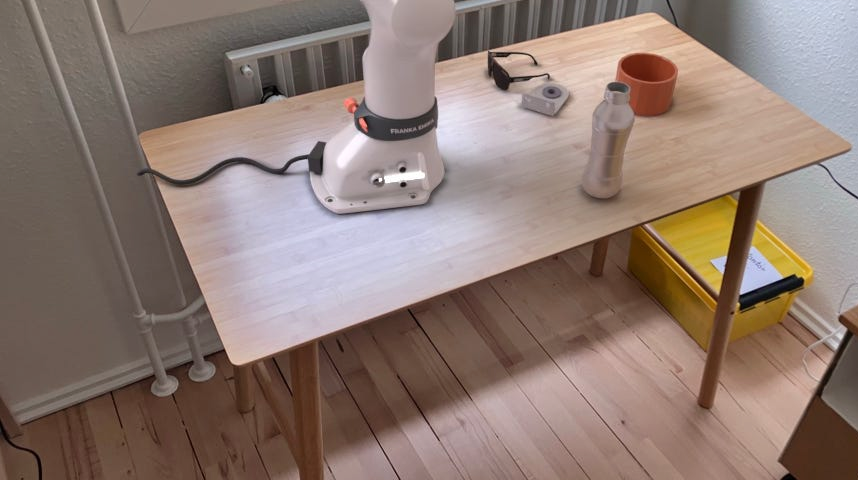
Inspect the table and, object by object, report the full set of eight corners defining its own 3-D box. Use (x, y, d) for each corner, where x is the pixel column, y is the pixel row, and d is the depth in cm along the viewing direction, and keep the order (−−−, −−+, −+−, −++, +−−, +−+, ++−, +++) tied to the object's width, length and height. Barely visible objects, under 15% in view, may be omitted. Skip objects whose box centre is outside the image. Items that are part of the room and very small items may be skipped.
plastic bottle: (580, 177, 143) (596, 74, 129) (620, 182, 142) (640, 79, 128) (578, 201, 138) (594, 96, 124) (619, 205, 138) (640, 101, 124)
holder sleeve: (632, 120, 156) (638, 88, 151) (602, 90, 163) (607, 58, 158) (682, 109, 160) (689, 76, 155) (650, 80, 167) (656, 48, 162)
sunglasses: (478, 69, 167) (481, 46, 164) (530, 65, 172) (535, 43, 169) (499, 95, 160) (504, 72, 157) (553, 91, 165) (559, 68, 162)
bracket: (573, 93, 162) (575, 77, 160) (552, 118, 156) (554, 102, 153) (542, 83, 164) (544, 68, 162) (520, 108, 158) (522, 92, 155)
